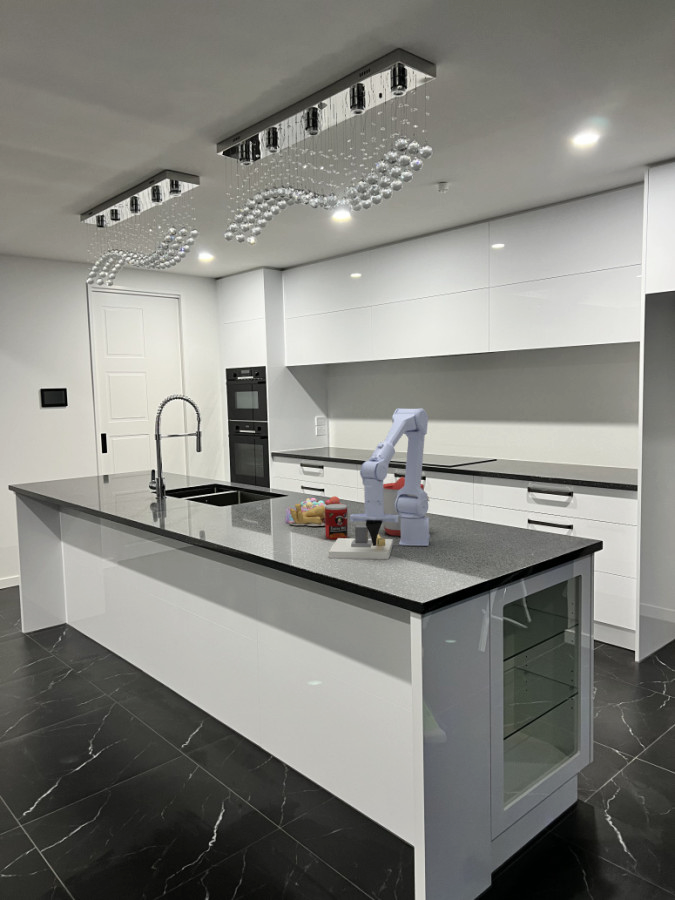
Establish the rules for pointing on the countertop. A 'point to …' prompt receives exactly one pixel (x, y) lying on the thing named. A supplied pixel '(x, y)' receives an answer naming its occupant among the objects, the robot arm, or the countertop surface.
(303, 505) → the candy landscape model
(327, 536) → the canned food
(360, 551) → the socket board
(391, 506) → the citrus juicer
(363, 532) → the plug
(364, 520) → the robot arm
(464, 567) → the countertop surface
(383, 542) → the clip
